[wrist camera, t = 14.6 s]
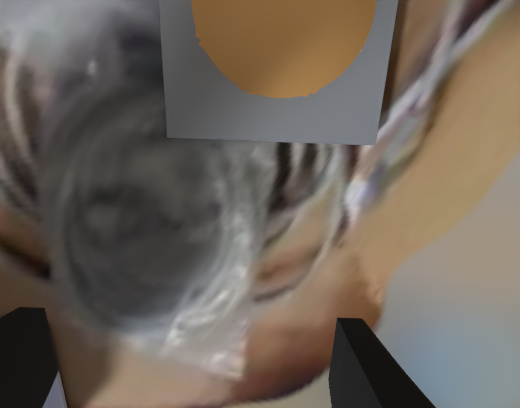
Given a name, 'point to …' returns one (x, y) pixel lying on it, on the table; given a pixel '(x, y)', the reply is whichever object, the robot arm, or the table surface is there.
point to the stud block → (268, 108)
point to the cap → (282, 41)
